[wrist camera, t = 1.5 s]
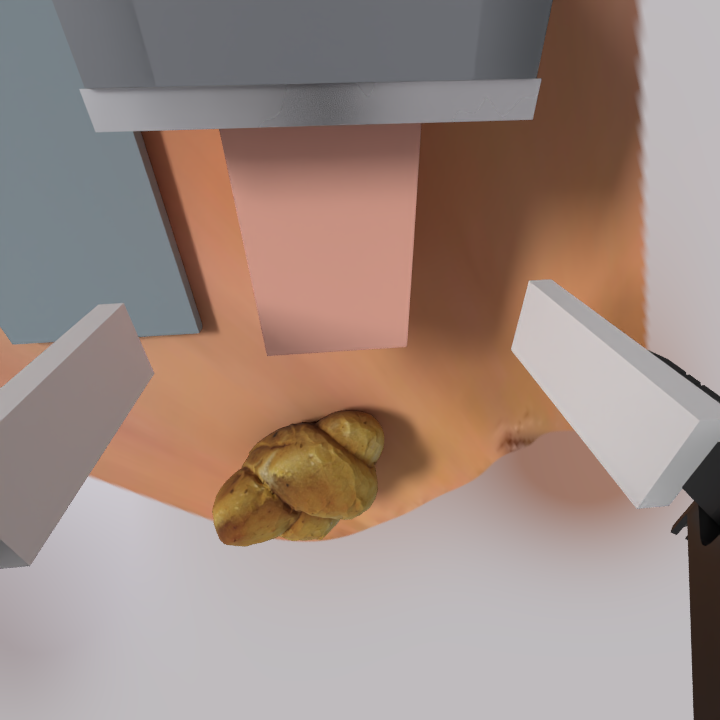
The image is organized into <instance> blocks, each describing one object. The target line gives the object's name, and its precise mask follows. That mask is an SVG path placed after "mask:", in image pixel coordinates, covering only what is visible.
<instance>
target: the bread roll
mask: <svg viewBox="0 0 720 720" xmlns="http://www.w3.org/2000/svg"><path fill="white" fill-rule="evenodd" d="M383 447H384V432H383V430H382V427H381V426H380V424H379V423H378V421H377V420H376V419H375V418H374V417H373V416H371V415H370V414H368V413H364V412H360V411H337V412H334V413H331V414H329V415H328V416H326V417H324V418H322V419H321V420H319V421H318V422H317V423H298V424H291V425H289V426H286V427H283V428H281V429H278V430H276V431H275V432H273V433H271V434H269V435H268V436H266V437H265V438H264V439H262V440H261V441H259V442H258V443H257V444H256V445H255V446H254V447H253V449H252V450H251V451H250V452H249V456H248V458H247V459H246V461H245V462H244V464H243V466H242V468H241V469H240V470H238V471H237V472H236V473H234V474H233V475H232V476H231V477H230V478H229V479H228V480H227V481H226V482H225V483H224V485H223V486H222V487H221V489H220V490H219V492H218V494H217V495H216V499H215V502H214V506H213V511H212V513H213V518H214V525H215V529H216V531H217V534H218V536H219V539H220V540H221V541H222V542H223V543H224V544H226V545H234V546H249V545H252V544H257V543H261V542H265V541H268V540H271V539H274V538H276V537H278V536H280V537H283V538H286V539H288V540H291V541H297V540H312V539H318V540H322V539H323V537H325V536H326V535H327V534H328V533H329V532H330V530H331V529H332V528H333V527H334V526H335V525H336V524H337V523H338V522H339V520H340V519H342V520H347V519H353V518H355V517H356V516H359V515H361V514H362V513H363V512H365V511H366V510H367V509H369V508H370V506H371V505H372V503H373V501H374V500H375V497H376V493H377V490H378V487H377V476H376V468H375V464H376V462H377V460H378V458H379V457H380V455H381V453H382V452H381V451H382V450H383Z"/></svg>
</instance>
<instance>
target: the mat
mask: <svg viewBox="0 0 720 720" xmlns="http://www.w3.org/2000/svg"><path fill="white" fill-rule="evenodd" d="M79 89H86V88H85V87H84V85H83V82H82V79H81V77H80V74H79V71H78V69H77V66H76V63H75V61H74V58H73V55H72V53H71V50H70V47H69V45H68V42H67V39H66V36H65V34H64V31H63V28H62V26H61V23H60V20H59V18H58V15H57V12H56V10H55V7H54V4H53V2H52V0H0V327H1V328H2V330H3V331H4V333H5V334H6V336H7V337H8V338H9V340H10V341H11V343H12V344H28V343H44V342H55V341H56V340H58V339H59V338H60V337H61V336H62V335H63V334H65V333H66V332H67V331H68V330H69V329H70V328H72V327H73V326H74V325H75V324H76V323H77V322H79V321H80V320H81V319H82V318H83V317H84V316H86V315H87V314H88V313H89V312H90V311H91V310H93V309H94V308H95V307H96V306H97V305H99V304H117V303H124V305H125V307H126V310H127V312H128V314H129V316H130V319H131V321H132V323H133V326H134V328H135V330H136V332H137V335H138V337H144V336H160V335H177V334H193V333H200V331H201V329H202V327H203V326H202V323H201V320H200V316H199V313H198V310H197V307H196V304H195V301H194V298H193V294H192V291H191V288H190V285H189V282H188V279H187V276H186V272H185V269H184V266H183V263H182V260H181V257H180V254H179V251H178V247H177V244H176V241H175V238H174V235H173V232H172V229H171V225H170V222H169V219H168V216H167V213H166V210H165V207H164V203H163V200H162V197H161V194H160V191H159V188H158V185H157V182H156V178H155V175H154V172H153V169H152V166H151V163H150V160H149V156H148V153H147V150H146V147H145V144H144V141H143V138H142V134H141V131H125V132H95V129H94V127H93V124H92V122H91V119H90V116H89V114H88V111H87V108H86V106H85V103H84V101H83V98H82V95H81V93H80V90H79Z"/></svg>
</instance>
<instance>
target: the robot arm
mask: <svg viewBox="0 0 720 720" xmlns="http://www.w3.org/2000/svg"><path fill="white" fill-rule="evenodd" d="M511 350H512V352H513V353H514V354H515V355H516V357H517V358H518V359H519V360H520V362H521V363H522V364H523V365H524V367H525V368H526V369H527V370H528V372H529V373H530V374H531V376H532V377H533V378H534V379H535V381H536V382H537V383H538V384H539V386H540V387H541V388H542V389H543V391H544V392H545V393H546V395H547V396H548V397H549V398H550V400H551V401H552V402H553V403H554V405H555V406H556V407H557V408H558V410H559V411H560V412H561V414H562V415H563V416H564V417H565V419H566V420H567V421H568V422H569V424H570V425H571V426H572V427H573V429H574V430H575V431H576V432H577V434H578V435H579V436H580V438H581V439H582V440H583V441H584V443H585V444H586V445H587V446H588V448H589V449H590V450H591V451H592V453H593V454H594V455H595V457H596V458H597V459H598V460H599V462H600V463H601V464H602V465H603V467H604V468H605V469H606V470H607V472H608V473H609V474H610V476H611V477H612V478H613V479H614V481H615V482H616V483H617V484H618V486H619V487H620V488H621V489H622V491H623V492H624V493H625V494H626V496H627V497H628V498H629V500H630V501H631V502H632V503H633V505H634V506H635V507H636V508H637V509H640V508H650V507H661V506H669V505H670V504H671V502H672V501H673V500H674V499H675V497H676V496H677V495H678V494H679V492H680V491H681V490H682V489H684V490H685V491H686V492H687V493H688V495H689V496H690V497H691V498H692V499H693V500H694V502H693V503H692V504H691V505H690V506H689V507H688V509H687V510H686V511H685V512H684V513H683V515H682V516H681V517H680V518H679V519H678V520H677V521H676V523H675V524H674V525H673V527H672V530H671V533H673V534H676V535H677V534H678V533H679V532H680V530H681V529H682V528H683V527H685V526H688V536H687V537H686V539H687V540H688V556H689V587H690V617H691V648H692V679H693V708H694V720H720V396H718V395H717V394H716V393H714V392H713V391H712V390H710V389H709V388H707V387H706V386H705V385H702V386H701V384H700V382H699V381H698V380H696V379H695V378H693V377H692V376H691V375H686V372H685V371H684V370H682V369H681V368H680V367H678V366H677V365H675V364H674V363H672V362H671V361H670V360H668V359H666V358H664V357H662V356H660V355H657V354H655V353H653V352H651V351H649V350H647V349H645V348H644V347H642V346H641V345H640V344H638V343H637V342H636V341H634V340H633V339H631V338H630V337H629V336H627V335H626V334H625V333H623V332H622V331H621V330H619V329H618V328H617V327H615V326H614V325H612V324H611V323H610V322H608V321H607V320H606V319H604V318H603V317H602V316H600V315H599V314H597V313H596V312H595V311H593V310H592V309H591V308H589V307H588V306H587V305H585V304H584V303H582V302H581V301H580V300H578V299H577V298H576V297H574V296H573V295H572V294H570V293H569V292H568V291H566V290H565V289H563V288H562V287H561V286H559V285H558V284H557V283H555V282H554V281H553V280H533V281H529V283H528V287H527V290H526V294H525V298H524V302H523V306H522V310H521V313H520V317H519V321H518V325H517V329H516V333H515V336H514V340H513V344H512V348H511ZM153 375H154V371H153V369H152V367H151V365H150V362H149V360H148V358H147V355H146V353H145V351H144V349H143V346H142V344H141V342H140V339H139V337H138V335H137V332H136V330H135V328H134V326H133V323H132V321H131V319H130V316H129V314H128V312H127V310H126V307H125V305H124V303H117V304H99V305H97V306H96V307H95V308H94V309H93V310H91V311H90V312H89V313H88V314H87V315H86V316H84V317H83V318H82V319H81V320H80V321H79V322H77V323H76V324H75V325H74V326H73V327H72V328H70V329H69V330H68V331H67V332H66V333H65V334H63V335H62V336H61V337H60V338H59V339H58V340H56V341H55V342H54V343H53V344H52V345H51V346H49V347H48V348H47V349H46V350H45V351H44V352H42V353H41V354H40V355H39V356H38V357H37V358H35V359H34V360H33V361H32V362H31V363H30V364H28V365H27V366H26V367H25V368H24V369H23V370H21V371H20V372H19V373H18V374H17V375H16V376H14V377H13V378H12V379H11V380H10V381H9V382H7V383H6V384H5V385H4V386H3V387H2V388H0V569H3V568H13V567H24V566H30V565H31V564H32V562H33V561H34V559H35V558H36V556H37V554H38V553H39V551H40V550H41V548H42V547H43V545H44V543H45V542H46V540H47V539H48V537H49V536H50V534H51V533H52V531H53V529H54V528H55V527H56V525H57V523H58V522H59V520H60V519H61V517H62V516H63V514H64V512H65V511H66V510H67V508H68V506H69V505H70V503H71V502H72V500H73V499H74V497H75V496H76V494H77V492H78V491H79V489H80V488H81V486H82V485H83V483H84V482H85V480H86V478H87V477H88V475H89V474H90V472H91V471H92V469H93V468H94V466H95V465H96V463H97V461H98V460H99V458H100V457H101V455H102V454H103V452H104V451H105V449H106V448H107V446H108V444H109V443H110V441H111V440H112V438H113V437H114V435H115V434H116V432H117V430H118V429H119V427H120V426H121V424H122V423H123V421H124V420H125V418H126V417H127V415H128V413H129V412H130V410H131V409H132V407H133V406H134V404H135V403H136V401H137V399H138V398H139V396H140V395H141V393H142V392H143V390H144V389H145V387H146V386H147V384H148V382H149V381H150V379H151V378H152V376H153Z"/></svg>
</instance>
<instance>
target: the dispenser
mask: <svg viewBox="0 0 720 720" xmlns="http://www.w3.org/2000/svg"><path fill="white" fill-rule="evenodd" d="M552 1H553V0H52V2H53V4H54V7H55V10H56V12H57V15H58V18H59V20H60V23H61V26H62V28H63V31H64V34H65V36H66V39H67V42H68V45H69V47H70V50H71V53H72V55H73V58H74V61H75V63H76V66H77V69H78V71H79V74H80V77H81V79H82V82H83V85H84V87H85V88H86V89H79V90H80V93H81V95H82V98H83V101H84V103H85V106H86V108H87V111H88V114H89V116H90V119H91V122H92V124H93V127H94V129H95V132H125V131H160V130H194V129H229V128H263V127H297V126H332V125H366V124H401V123H435V122H470V121H504V120H533V116H534V111H535V107H536V102H537V97H538V93H539V88H540V84H541V79H535V78H537V73H538V68H539V63H540V59H541V54H542V49H543V44H544V40H545V35H546V30H547V25H548V20H549V16H550V11H551V6H552Z"/></svg>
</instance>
